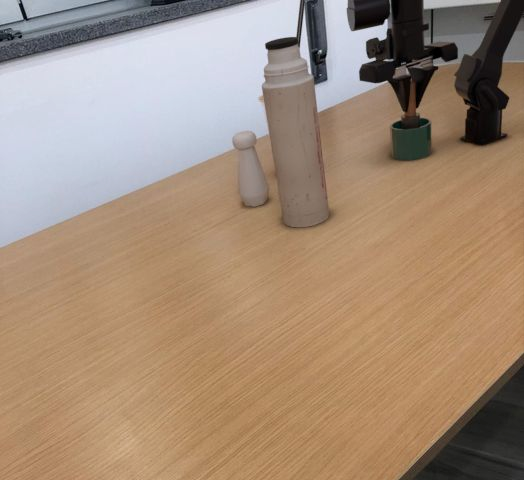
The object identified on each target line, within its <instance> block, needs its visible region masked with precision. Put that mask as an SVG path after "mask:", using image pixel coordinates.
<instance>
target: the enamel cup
mask: <svg viewBox="0 0 524 480" xmlns="http://www.w3.org/2000/svg"><path fill="white" fill-rule="evenodd" d="M432 126H433V125H432V120H431V119H430V118H429V117H428V118H426V117H420V127H419V128H413V129H401V119H399V120H395V121H393V122H392V123H391V124H390V126H389V135H390V154H391V158H392V159H394V160H396V161H404V162H406V161H418V160H422V159H425V158H427V157H429V156H430V155H431V154H432V152H433V151H432V150H433V144H432V143H433V138H432V137H433V136H432V135H433V131H432V129H433V128H432Z"/></svg>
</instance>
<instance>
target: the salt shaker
mask: <svg viewBox="0 0 524 480" xmlns="http://www.w3.org/2000/svg"><path fill="white" fill-rule="evenodd" d="M257 139H258V138H257V135H256V133H255V132H254V131H252V130H242V131H239V132H236V133H235V134H234V135H233V136H232V137H231V143H232V146H233V148H234V149H235V150H237V193H238V196H239V198H240V199H241V200H242V202H243V203H244V205H245V207H253V208H254V207H258V206H261V205H264V204H265V203H266V202H267V201H268V197H269V193H270V192H269V191H270V186H269V183H268V180H267V177H266V175H265V172H264V169H263V166H262V163H261V161H260V157H259V155H258V151H257V149H256V147H255V146H256V145H257V142H258V140H257Z"/></svg>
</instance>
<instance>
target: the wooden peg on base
mask: <svg viewBox="0 0 524 480" xmlns="http://www.w3.org/2000/svg"><path fill="white" fill-rule="evenodd" d="M420 118H421V114H420V112H417V109H416V87H415V81H411V86H410V98H409V107H408V111H407V112H404V113H403V114H402V115H401V116H400V120H401V129H413V128H419V127H420Z"/></svg>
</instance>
